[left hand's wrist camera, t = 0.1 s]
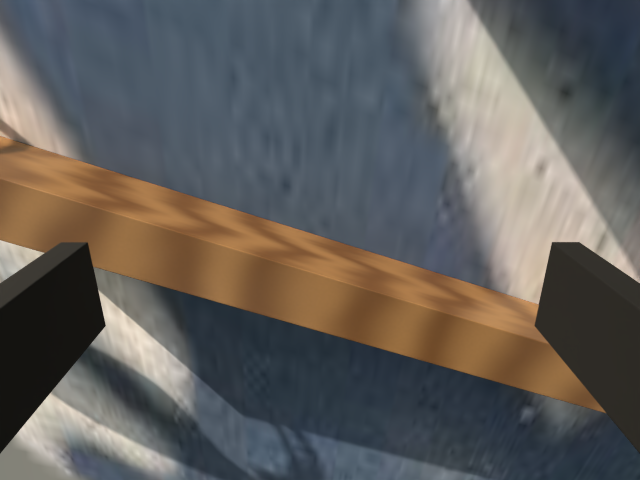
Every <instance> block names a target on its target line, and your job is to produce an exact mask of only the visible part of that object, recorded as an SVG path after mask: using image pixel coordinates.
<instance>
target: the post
mask: <svg viewBox="0 0 640 480" xmlns="http://www.w3.org/2000/svg"><path fill="white" fill-rule="evenodd" d="M0 240H2V241H5V242H9V243H12V244H16V245H19V246H23V247H26V248H30V249H33V250H37V251H40V252H44V253H46V252H47V251H49V250H50V249H52V248H53V247H55V246H56V245H58V244H59V243H61V242H88V245H89V250H90V255H91V259H92V264H93V267H96V268H100V269H103V270H107V271H110V272H114V273H117V274H121V275H124V276H128V277H131V278H135V279H138V280H142V281H145V282H149V283H152V284H156V285H159V286H163V287H166V288H170V289H173V290H177V291H180V292H184V293H187V294H191V295H194V296H198V297H201V298H205V299H208V300H212V301H215V302H219V303H222V304H226V305H229V306H233V307H236V308H240V309H243V310H247V311H250V312H254V313H257V314H261V315H264V316H268V317H271V318H275V319H278V320H282V321H285V322H289V323H292V324H296V325H299V326H303V327H306V328H310V329H313V330H317V331H320V332H324V333H327V334H331V335H334V336H338V337H341V338H345V339H348V340H352V341H355V342H359V343H362V344H366V345H369V346H373V347H376V348H380V349H383V350H387V351H390V352H394V353H397V354H401V355H404V356H408V357H411V358H415V359H418V360H422V361H425V362H429V363H432V364H436V365H439V366H443V367H446V368H450V369H453V370H457V371H460V372H464V373H467V374H471V375H474V376H478V377H481V378H485V379H488V380H492V381H495V382H499V383H502V384H506V385H509V386H513V387H516V388H520V389H523V390H527V391H530V392H534V393H537V394H541V395H544V396H548V397H551V398H555V399H558V400H562V401H565V402H569V403H572V404H576V405H579V406H583V407H586V408H590V409H593V410H597V411H600V412H604V413H606V412H605V411H604V410H603V408H602V407H601V406H600V405H599V403H598V402H597V401H596V400H595V399H594V397H593V396H592V395H591V394H590V393H589V391H588V390H587V389H586V388H585V386H584V385H583V384H582V383H581V382H580V380H579V379H578V378H577V377H576V376H575V374H574V373H573V372H572V371H571V370H570V368H569V367H568V366H567V365H566V363H565V362H564V361H563V360H562V359H561V357H560V356H559V355H558V354H557V353H556V351H555V350H554V349H553V348H552V347H551V345H550V344H549V343H548V342H547V340H546V339H545V338H544V337H543V336H542V334H541V333H540V332H539V331H538V330H537V328H536V327H535V326H534V325H535V321H536V316H537V311H538V306H539V305H538V304H535V303H532V302H528V301H525V300H522V299H519V298H516V297H512V296H509V295H506V294H503V293H500V292H496V291H493V290H490V289H487V288H484V287H480V286H477V285H474V284H471V283H468V282H464V281H461V280H458V279H455V278H452V277H448V276H445V275H442V274H439V273H436V272H432V271H429V270H426V269H423V268H420V267H416V266H413V265H410V264H407V263H404V262H400V261H397V260H394V259H391V258H388V257H385V256H381V255H378V254H375V253H372V252H369V251H365V250H362V249H359V248H356V247H353V246H349V245H346V244H343V243H340V242H337V241H333V240H330V239H327V238H324V237H321V236H317V235H314V234H311V233H308V232H305V231H301V230H298V229H295V228H292V227H289V226H285V225H282V224H279V223H276V222H273V221H269V220H266V219H263V218H260V217H257V216H254V215H250V214H247V213H244V212H241V211H238V210H234V209H231V208H228V207H225V206H222V205H218V204H215V203H212V202H209V201H206V200H202V199H199V198H196V197H193V196H190V195H186V194H183V193H180V192H177V191H174V190H170V189H167V188H164V187H161V186H158V185H154V184H151V183H148V182H145V181H142V180H138V179H135V178H132V177H129V176H126V175H122V174H119V173H116V172H113V171H110V170H107V169H103V168H100V167H97V166H94V165H91V164H87V163H84V162H81V161H78V160H75V159H71V158H68V157H65V156H62V155H59V154H55V153H52V152H49V151H46V150H43V149H39V148H36V147H33V146H30V145H27V144H23V143H20V142H17V141H14V140H11V139H7V138H4V137H1V136H0Z"/></svg>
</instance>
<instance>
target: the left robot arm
mask: <svg viewBox="0 0 640 480" xmlns="http://www.w3.org/2000/svg"><path fill="white" fill-rule="evenodd" d="M105 326H106V325H105V321H104V316H103V311H102V306H101V302H100V297H99V292H98V288H97V283H96V278H95V273H94V269H93V264H92V259H91V255H90V250H89V245H88V242H61V243H59V244H58V245H56V246H55V247H53V248H52V249H50V250H49V251H47V252H46V253H44V254H43V255H41V256H40V257H38V258H37V259H36V260H34V261H33V262H31V263H30V264H28V265H27V266H25V267H24V268H22V269H21V270H19V271H18V272H16V273H15V274H13V275H12V276H10V277H9V278H8V279H6V280H5V281H3V282H2V283H0V453H1V452H2V451H3V449H4V448H5V447H6V446H7V445H8V443H9V442H10V441H11V440H12V439H13V437H14V436H15V435H16V434H17V433H18V431H19V430H20V429H21V428H22V426H23V425H24V424H25V423H26V422H27V420H28V419H29V418H30V417H31V416H32V414H33V413H34V412H35V411H36V409H37V408H38V407H39V406H40V405H41V403H42V402H43V401H44V400H45V399H46V397H47V396H48V395H49V394H50V393H51V391H52V390H53V389H54V388H55V386H56V385H57V384H58V383H59V382H60V380H61V379H62V378H63V377H64V376H65V374H66V373H67V372H68V371H69V370H70V368H71V367H72V366H73V365H74V363H75V362H76V361H77V360H78V359H79V357H80V356H81V355H82V354H83V353H84V351H85V350H86V349H87V348H88V347H89V345H90V344H91V343H92V342H93V340H94V339H95V338H96V337H97V336H98V334H99V333H100V332H101V331H102V330H103V328H104V327H105ZM534 326H535V327H536V328H537V330H538V331H539V332H540V333H541V334H542V336H543V337H544V338H545V339H546V340H547V342H548V343H549V344H550V345H551V347H552V348H553V349H554V350H555V351H556V353H557V354H558V355H559V356H560V357H561V359H562V360H563V361H564V362H565V363H566V365H567V366H568V367H569V368H570V370H571V371H572V372H573V373H574V374H575V376H576V377H577V378H578V379H579V380H580V382H581V383H582V384H583V385H584V386H585V388H586V389H587V390H588V391H589V393H590V394H591V395H592V396H593V397H594V399H595V400H596V401H597V402H598V403H599V405H600V406H601V407H602V408H603V410H604V411H605V412H606V413H607V414H608V416H609V417H610V418H611V419H612V420H613V422H614V423H615V424H616V425H617V426H618V428H619V429H620V430H621V431H622V433H623V434H624V435H625V436H626V437H627V439H628V440H629V441H630V442H631V443H632V445H633V446H634V447H635V448H636V449H637V451H638V452H639V453H640V283H638V282H637V281H635V280H634V279H632V278H631V277H630V276H628V275H627V274H625V273H624V272H622V271H621V270H619V269H618V268H616V267H615V266H613V265H612V264H610V263H609V262H607V261H606V260H604V259H603V258H602V257H600V256H599V255H597V254H596V253H594V252H593V251H591V250H590V249H588V248H587V247H585V246H584V245H582V244H581V243H579V242H552V245H551V250H550V255H549V259H548V264H547V269H546V273H545V278H544V283H543V288H542V292H541V297H540V302H539V306H538V311H537V316H536V321H535V325H534Z"/></svg>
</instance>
